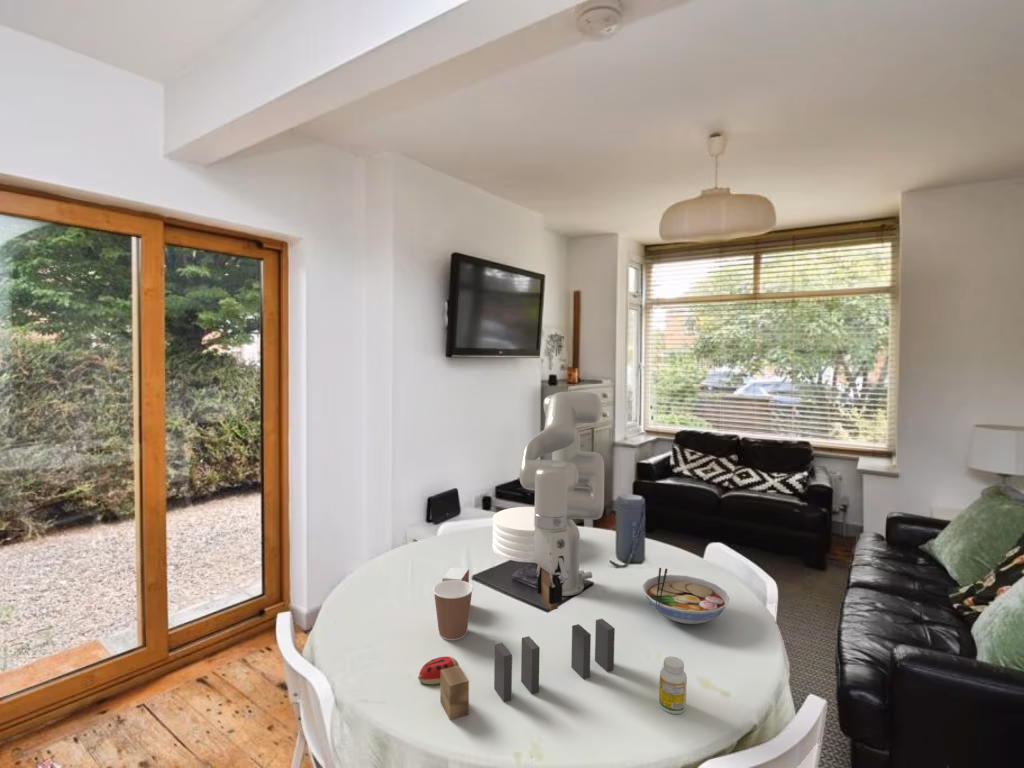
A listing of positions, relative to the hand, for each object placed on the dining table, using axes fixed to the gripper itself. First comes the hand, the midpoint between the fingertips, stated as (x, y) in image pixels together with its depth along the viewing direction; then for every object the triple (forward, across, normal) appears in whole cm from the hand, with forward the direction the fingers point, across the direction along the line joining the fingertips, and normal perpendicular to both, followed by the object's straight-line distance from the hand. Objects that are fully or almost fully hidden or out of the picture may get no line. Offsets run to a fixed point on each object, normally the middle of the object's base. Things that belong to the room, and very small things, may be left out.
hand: (549, 596), depth 127 cm
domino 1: (+16, -6, +14) cm, 23 cm away
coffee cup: (+16, +22, +16) cm, 32 cm away
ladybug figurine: (+17, +6, +25) cm, 30 cm away
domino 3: (+2, 0, 0) cm, 2 cm away
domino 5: (+16, -6, -12) cm, 21 cm away
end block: (+16, -6, +25) cm, 31 cm away
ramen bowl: (+16, +5, -45) cm, 48 cm away
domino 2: (+16, -6, +8) cm, 19 cm away
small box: (+16, +34, +11) cm, 39 cm away
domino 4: (+16, -6, -5) cm, 18 cm away
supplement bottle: (+17, -24, -16) cm, 33 cm away
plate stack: (+15, +69, -30) cm, 76 cm away
